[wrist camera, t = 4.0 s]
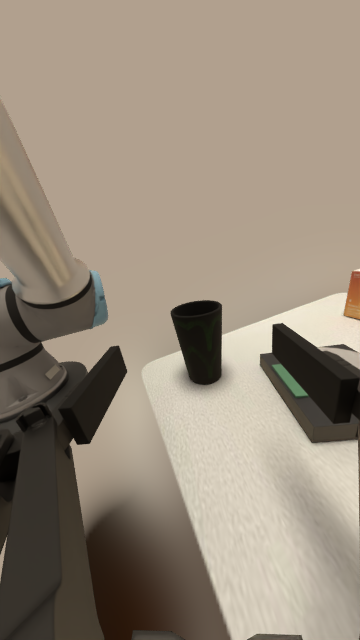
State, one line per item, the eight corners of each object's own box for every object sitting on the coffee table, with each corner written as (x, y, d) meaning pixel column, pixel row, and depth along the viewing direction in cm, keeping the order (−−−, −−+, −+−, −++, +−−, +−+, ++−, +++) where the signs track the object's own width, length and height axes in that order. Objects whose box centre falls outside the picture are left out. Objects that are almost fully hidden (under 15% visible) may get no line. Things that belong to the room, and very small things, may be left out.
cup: (193, 358, 35) (183, 301, 31) (231, 363, 31) (226, 299, 27) (175, 384, 28) (160, 316, 24) (221, 394, 25) (213, 317, 21)
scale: (311, 442, 17) (315, 421, 16) (260, 365, 29) (260, 350, 28) (459, 432, 16) (472, 407, 15) (341, 355, 28) (344, 339, 27)
